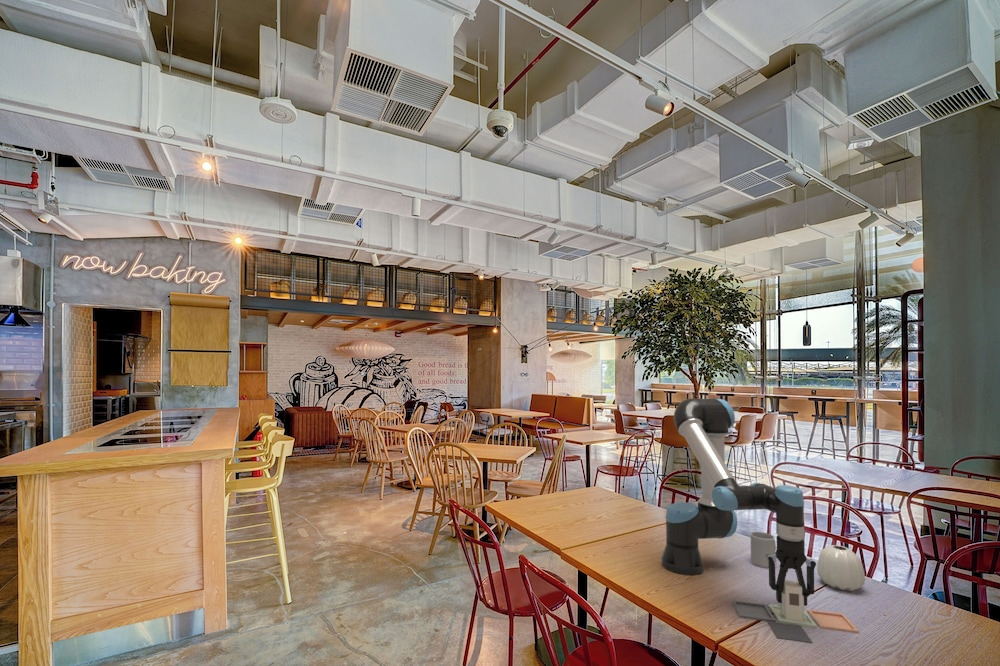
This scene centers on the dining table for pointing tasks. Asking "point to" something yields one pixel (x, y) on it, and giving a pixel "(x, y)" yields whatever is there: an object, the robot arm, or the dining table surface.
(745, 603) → the tray charcoal
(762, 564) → the mug
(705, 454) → the robot arm
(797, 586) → the letter block
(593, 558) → the dining table surface
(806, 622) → the tray sage
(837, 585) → the vase
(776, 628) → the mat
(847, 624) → the tray terracotta
